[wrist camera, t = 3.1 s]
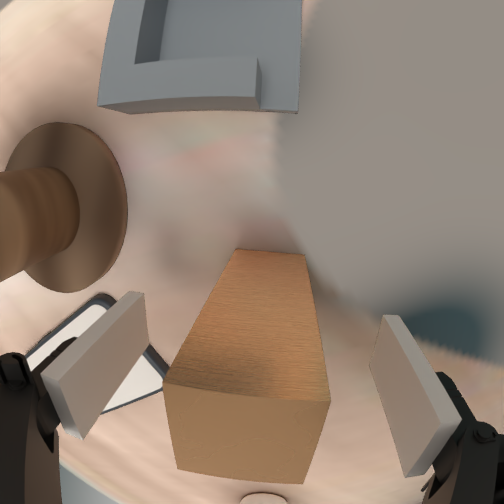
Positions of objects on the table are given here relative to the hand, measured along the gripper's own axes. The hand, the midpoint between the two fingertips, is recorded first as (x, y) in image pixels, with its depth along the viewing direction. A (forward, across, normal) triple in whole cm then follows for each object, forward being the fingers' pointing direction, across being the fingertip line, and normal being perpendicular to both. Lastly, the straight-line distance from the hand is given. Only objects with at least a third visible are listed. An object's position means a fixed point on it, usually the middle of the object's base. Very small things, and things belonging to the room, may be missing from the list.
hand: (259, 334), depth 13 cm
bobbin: (+6, +15, -4) cm, 17 cm away
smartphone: (+7, +15, +10) cm, 19 cm away
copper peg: (+6, 0, 0) cm, 6 cm away
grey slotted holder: (+6, +4, -15) cm, 17 cm away
